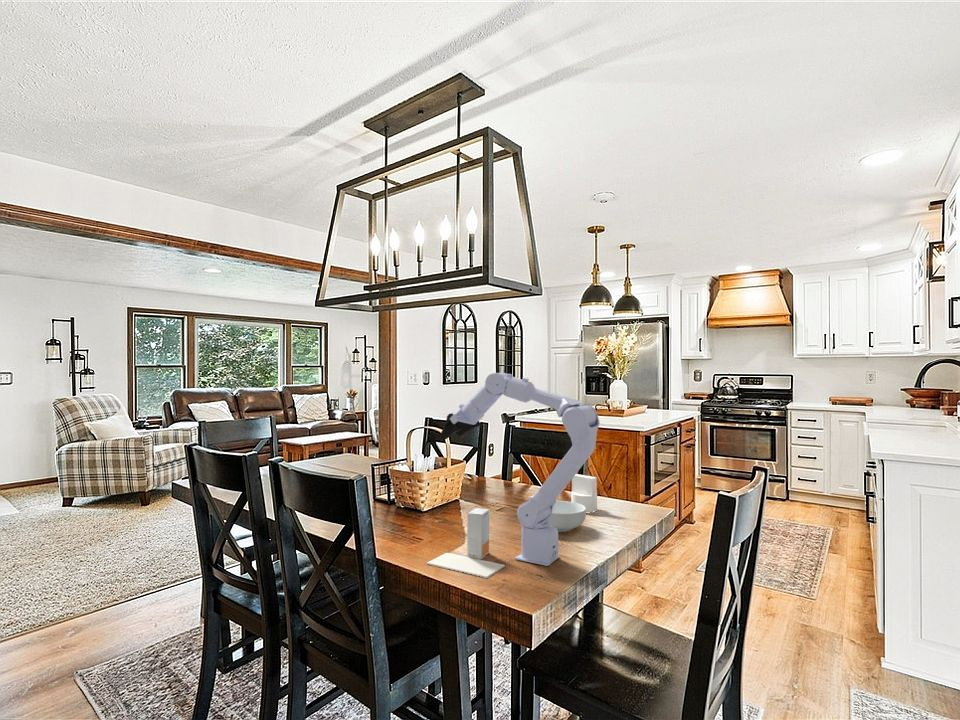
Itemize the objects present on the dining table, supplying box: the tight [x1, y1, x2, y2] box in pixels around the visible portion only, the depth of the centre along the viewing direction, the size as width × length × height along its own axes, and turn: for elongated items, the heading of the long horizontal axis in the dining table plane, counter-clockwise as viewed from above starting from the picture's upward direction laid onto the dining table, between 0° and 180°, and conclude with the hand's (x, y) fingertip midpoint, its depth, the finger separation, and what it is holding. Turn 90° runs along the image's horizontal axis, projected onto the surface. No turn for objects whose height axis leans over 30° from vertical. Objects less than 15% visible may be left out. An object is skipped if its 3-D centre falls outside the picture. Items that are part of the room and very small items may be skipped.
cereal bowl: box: [548, 500, 587, 533], centre depth 172 cm, size 17×17×7 cm
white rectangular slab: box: [426, 552, 506, 579], centre depth 140 cm, size 18×9×1 cm, turn 59°
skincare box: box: [466, 507, 490, 560], centre depth 147 cm, size 6×4×12 cm
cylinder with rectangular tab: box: [570, 473, 598, 512], centre depth 193 cm, size 9×9×12 cm
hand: (450, 435), depth 160 cm, fingers open, 7 cm apart
